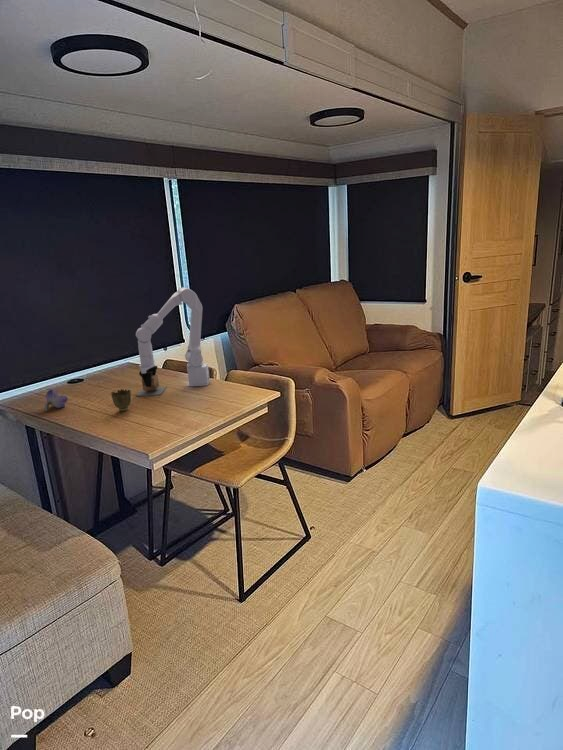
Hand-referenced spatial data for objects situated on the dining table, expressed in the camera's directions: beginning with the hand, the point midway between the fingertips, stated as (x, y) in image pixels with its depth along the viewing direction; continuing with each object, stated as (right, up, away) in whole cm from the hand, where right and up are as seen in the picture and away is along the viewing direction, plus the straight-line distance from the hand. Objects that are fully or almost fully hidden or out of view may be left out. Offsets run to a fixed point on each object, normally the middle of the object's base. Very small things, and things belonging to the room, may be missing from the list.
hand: (150, 384), depth 214 cm
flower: (-36, -10, -13) cm, 40 cm away
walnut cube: (0, -2, 0) cm, 2 cm away
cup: (-5, -10, -21) cm, 24 cm away
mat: (0, -3, +1) cm, 3 cm away
